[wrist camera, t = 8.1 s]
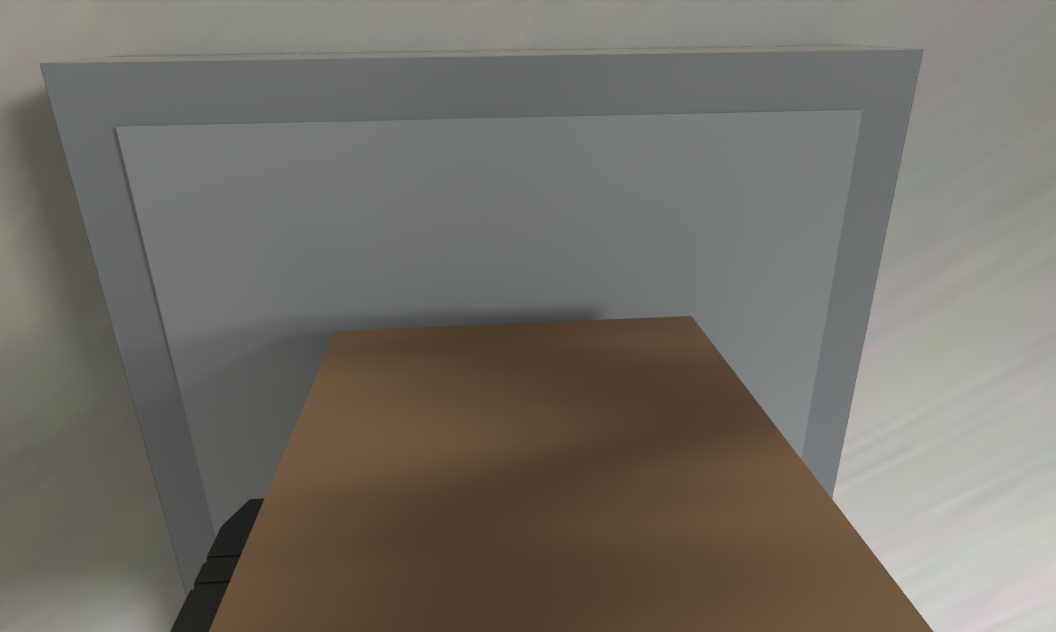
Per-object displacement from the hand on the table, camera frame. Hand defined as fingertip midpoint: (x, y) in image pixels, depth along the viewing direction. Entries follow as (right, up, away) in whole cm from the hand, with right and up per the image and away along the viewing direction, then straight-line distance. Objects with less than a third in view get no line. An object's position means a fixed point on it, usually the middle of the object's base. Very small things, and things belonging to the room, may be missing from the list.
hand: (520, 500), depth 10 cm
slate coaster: (0, +1, +4) cm, 4 cm away
